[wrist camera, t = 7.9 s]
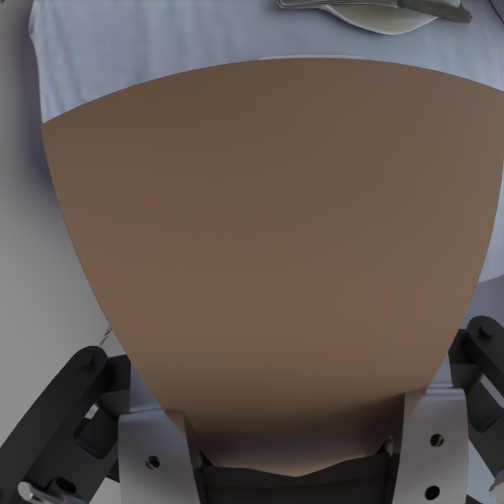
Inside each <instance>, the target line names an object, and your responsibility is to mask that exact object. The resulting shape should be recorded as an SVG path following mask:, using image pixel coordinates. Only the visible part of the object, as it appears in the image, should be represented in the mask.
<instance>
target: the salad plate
mask: <svg viewBox="0 0 504 504" xmlns="http://www.w3.org/2000/svg"><path fill="white" fill-rule="evenodd" d="M276 3H277V5H278V6H279V7H280V8H283V9H287V10H292V9H304V8H319V9H323V10H326V11H328V12H330V13H331V14H333V15H335V16H337V17H338V18H340V19H342V20H343V21H345V22H347V23H349V24H351V25H354V26H358V27H360V28H363V29H366V30H370V31H373V32H377V33H380V34H382V35H399V34H403V33H407V32H410V31H412V30H415V29H417V28H418V27H420V26H422V25H424V24H427V23H429V22H431V21H433V20H435V19H436V18H445V19H447V20H450V21H454V22H461V23H470V21H471V19H472V15H471V14H470V12H469V11H467V10H465V9H464V8H463V7H462V4H461V0H276Z"/></svg>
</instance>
